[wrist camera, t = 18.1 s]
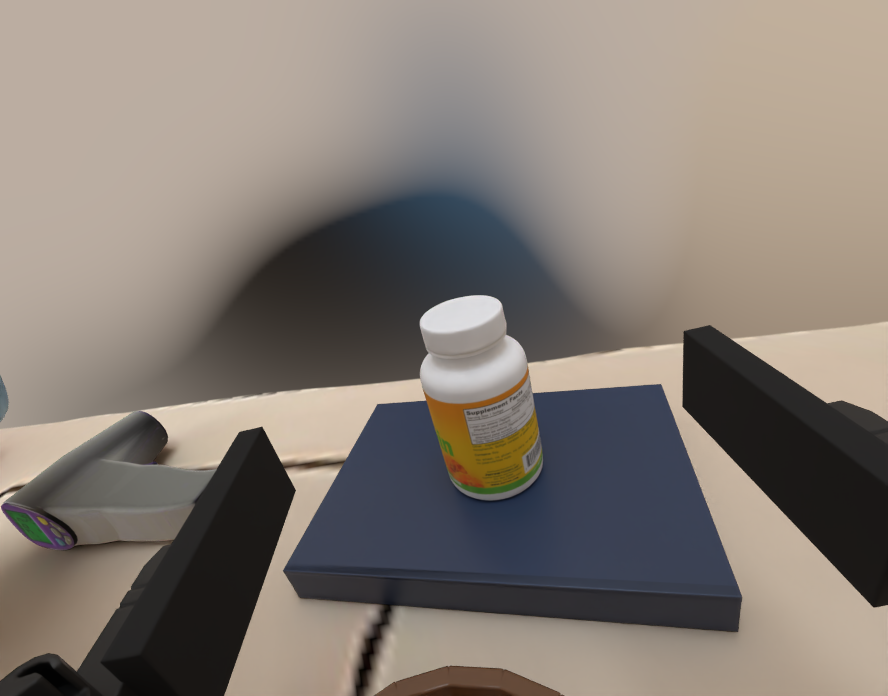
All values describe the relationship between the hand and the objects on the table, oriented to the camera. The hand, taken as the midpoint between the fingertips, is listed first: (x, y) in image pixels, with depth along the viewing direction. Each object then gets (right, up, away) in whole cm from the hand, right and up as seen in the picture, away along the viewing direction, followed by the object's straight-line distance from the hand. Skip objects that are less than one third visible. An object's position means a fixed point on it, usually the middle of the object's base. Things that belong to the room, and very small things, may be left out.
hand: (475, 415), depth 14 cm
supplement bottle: (+2, -5, +11) cm, 12 cm away
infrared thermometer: (-23, -9, +21) cm, 32 cm away
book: (+2, -7, +12) cm, 14 cm away
